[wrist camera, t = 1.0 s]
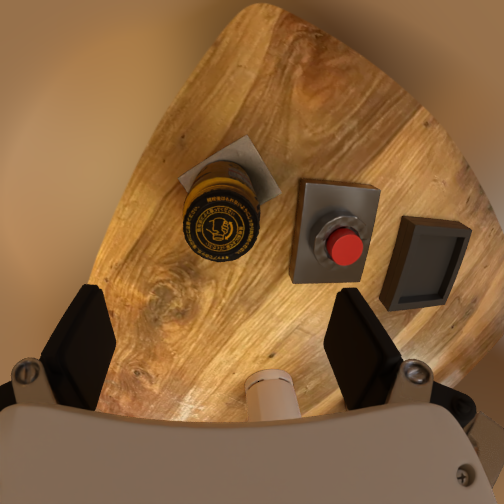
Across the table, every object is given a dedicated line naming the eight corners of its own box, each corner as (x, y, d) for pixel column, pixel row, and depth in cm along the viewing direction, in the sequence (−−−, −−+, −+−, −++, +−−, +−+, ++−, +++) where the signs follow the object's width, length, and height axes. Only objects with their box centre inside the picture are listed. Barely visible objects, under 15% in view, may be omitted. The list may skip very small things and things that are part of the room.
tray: (402, 215, 33) (415, 224, 30) (459, 221, 34) (472, 230, 32) (378, 298, 39) (388, 311, 36) (434, 293, 40) (444, 304, 37)
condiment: (177, 177, 29) (150, 215, 18) (247, 134, 27) (261, 145, 17) (215, 231, 32) (211, 293, 21) (281, 192, 30) (313, 236, 20)
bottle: (288, 394, 47) (320, 534, 22) (244, 397, 46) (261, 543, 22) (294, 366, 44) (336, 528, 19) (244, 370, 43) (265, 540, 18)
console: (300, 178, 30) (310, 187, 26) (372, 185, 31) (389, 194, 27) (288, 274, 35) (295, 292, 32) (353, 273, 36) (365, 290, 33)
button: (329, 227, 29) (335, 234, 27) (359, 228, 29) (366, 235, 28) (323, 258, 30) (328, 266, 29) (352, 258, 31) (359, 265, 29)
